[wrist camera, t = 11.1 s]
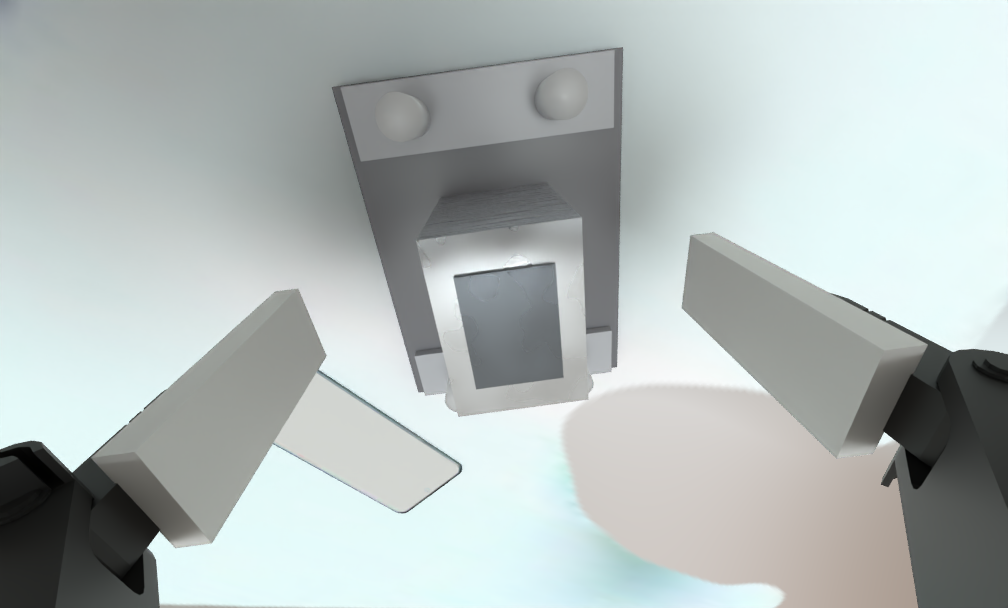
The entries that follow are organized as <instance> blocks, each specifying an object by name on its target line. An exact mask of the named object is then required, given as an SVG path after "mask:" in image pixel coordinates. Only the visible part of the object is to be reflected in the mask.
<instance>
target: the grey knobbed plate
mask: <svg viewBox="0 0 1008 608" xmlns="http://www.w3.org/2000/svg"><path fill="white" fill-rule="evenodd" d="M622 71H623V47H622V48H615V49H608V50H600V51H593V52H586V53H578V54H571V55H564V56H557V57H549V58H542V59H535V60H527V61H520V62H513V63H505V64H498V65H491V66H483V67H476V68H469V69H462V70H454V71H447V72H440V73H432V74H425V75H418V76H410V77H403V78H396V79H388V80H381V81H374V82H366V83H359V84H352V85H345V86H337V87H332V90H333V93H334V97H335V100H336V104H337V107H338V111H339V114H340V118H341V121H342V125H343V128H344V132H345V135H346V139H347V142H348V146H349V149H350V153H351V156H352V160H353V163H354V167H355V170H356V174H357V178H358V181H359V185H360V188H361V192H362V195H363V199H364V202H365V206H366V209H367V213H368V216H369V220H370V223H371V227H372V230H373V234H374V237H375V241H376V244H377V248H378V251H379V255H380V258H381V262H382V266H383V269H384V273H385V276H386V280H387V283H388V287H389V290H390V294H391V297H392V301H393V304H394V308H395V311H396V315H397V318H398V322H399V325H400V329H401V332H402V336H403V339H404V343H405V346H406V350H407V354H408V357H409V361H410V364H411V368H412V371H413V375H414V378H415V382H416V385H417V389H418V392H424V393H425V396H426V395H434V394H441V393H446V396H445V403H446V405H447V407H448V408H449V409H451V410H452V411H455V412H457V409H456V404H455V400H454V396H453V392H452V388H451V384H450V380H449V376H448V371H447V367H446V363H445V359H444V355H443V351H442V347H441V343H440V338H439V334H438V330H437V326H436V322H435V318H434V314H433V310H432V305H431V301H430V297H429V293H428V289H427V285H426V281H425V277H424V272H423V268H422V264H421V260H420V256H419V252H418V248H417V244H416V239H417V238H418V236H419V234H420V232H421V231H422V229H423V227H424V225H425V224H426V222H427V220H428V218H429V217H430V215H431V213H432V211H433V210H434V208H435V206H436V204H437V203H438V201H439V199H440V197H447V196H454V195H461V194H468V193H475V192H482V191H489V190H496V189H503V188H511V187H518V186H525V185H532V184H539V183H546V182H547V183H548V184H549V185H550V186H551V187H552V188H553V189H554V190H555V191H556V192H557V193H558V194H559V195H560V196H561V197H562V198H563V199H564V200H565V201H566V202H567V203H568V204H569V205H570V206H571V207H572V208H573V209H574V210H575V211H576V212H577V213H578V214H579V215H580V216H581V217H582V234H583V263H584V291H585V320H586V348H587V376H588V393H589V392H590V391H591V390H592V388H593V380H592V377H591V375H590V374H598V373H606V372H611V368H613V367H617V342H618V288H619V234H620V179H621V125H622Z"/></svg>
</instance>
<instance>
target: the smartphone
mask: <svg viewBox="0 0 1008 608" xmlns="http://www.w3.org/2000/svg"><path fill="white" fill-rule="evenodd" d="M273 444H274V445H276V446H278V447H280V448H281V449H283V450H285V451H287V452H289V453H290V454H292V455H294V456H296V457H298V458H299V459H301V460H303V461H305V462H307V463H308V464H310V465H312V466H314V467H316V468H317V469H319V470H321V471H323V472H325V473H326V474H328V475H330V476H332V477H334V478H335V479H337V480H339V481H341V482H343V483H344V484H346V485H348V486H350V487H352V488H353V489H355V490H357V491H359V492H361V493H362V494H364V495H366V496H368V497H370V498H371V499H373V500H375V501H377V502H379V503H380V504H382V505H384V506H386V507H388V508H389V509H391V510H393V511H395V512H397V513H407V512H408V511H410V510H411V509H413V508H414V507H415V506H417V505H418V504H419V503H421V502H422V501H423V500H425V499H426V498H427V497H429V496H430V495H432V494H433V493H434V492H436V491H437V490H438V489H440V488H441V487H442V486H444V485H445V484H446V483H448V482H449V481H450V480H452V479H453V478H455V477H456V476H457V475H459V474H460V473H461V471H462V466H461V464H460V463H459V462H457V461H456V460H454V459H453V458H451V457H449V456H448V455H446V454H445V453H443V452H442V451H440V450H439V449H437V448H436V447H434V446H433V445H431V444H430V443H428V442H427V441H425V440H424V439H422V438H421V437H419V436H418V435H416V434H415V433H413V432H412V431H410V430H409V429H407V428H406V427H404V426H403V425H401V424H400V423H398V422H397V421H395V420H393V419H392V418H390V417H389V416H387V415H386V414H384V413H383V412H381V411H380V410H378V409H377V408H375V407H374V406H372V405H371V404H369V403H368V402H366V401H365V400H363V399H362V398H360V397H359V396H357V395H356V394H354V393H353V392H351V391H350V390H348V389H347V388H345V387H344V386H342V385H341V384H339V383H337V382H336V381H334V380H333V379H331V378H330V377H328V376H327V375H325V374H324V373H322V372H321V371H319V370H318V371H317V372H316V374H315V376H314V377H313V379H312V381H311V382H310V384H309V385H308V387H307V389H306V390H305V392H304V394H303V395H302V397H301V398H300V400H299V402H298V403H297V405H296V407H295V408H294V410H293V412H292V413H291V415H290V416H289V418H288V420H287V421H286V423H285V425H284V426H283V428H282V430H281V431H280V433H279V434H278V436H277V438H276V439H275V441H274V443H273Z"/></svg>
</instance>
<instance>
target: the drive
mask: <svg viewBox="0 0 1008 608" xmlns="http://www.w3.org/2000/svg"><path fill="white" fill-rule="evenodd" d="M416 244H417V248H418V252H419V256H420V260H421V264H422V268H423V272H424V277H425V281H426V285H427V289H428V293H429V297H430V301H431V305H432V310H433V314H434V318H435V322H436V326H437V330H438V334H439V338H440V343H441V347H442V351H443V355H444V359H445V363H446V367H447V371H448V376H449V380H450V384H451V388H452V392H453V396H454V400H455V404H456V409H457V413H458V417H460V416H467V415H475V414H482V413H490V412H498V411H505V410H513V409H520V408H528V407H535V406H543V405H550V404H558V403H565V402H573V401H580V400H588V376H587V348H586V320H585V291H584V263H583V234H582V217H581V216H580V215H579V214H578V213H577V212H576V211H575V210H574V209H573V208H572V207H571V206H570V205H569V204H568V203H567V202H566V201H565V200H564V199H563V198H562V197H561V196H560V195H559V194H558V193H557V192H556V191H555V190H554V189H553V188H552V187H551V186H550V185H549V184H548V183H547V182H546V183H539V184H532V185H525V186H518V187H511V188H503V189H496V190H489V191H482V192H475V193H468V194H461V195H454V196H447V197H440V199H439V201H438V203H437V204H436V206H435V208H434V210H433V211H432V213H431V215H430V217H429V218H428V220H427V222H426V224H425V225H424V227H423V229H422V231H421V232H420V234H419V236H418V238H417V239H416Z"/></svg>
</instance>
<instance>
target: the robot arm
mask: <svg viewBox="0 0 1008 608" xmlns="http://www.w3.org/2000/svg"><path fill="white" fill-rule="evenodd" d="M682 309H683V310H684V311H685V312H686V313H687V314H689V315H690V316H691V317H692V318H693V319H694V320H695V321H696V322H697V323H698V324H699V325H700V326H701V327H702V328H703V329H704V330H705V331H706V332H707V333H708V334H709V335H710V336H711V337H712V338H713V339H714V340H715V341H716V342H717V343H718V344H719V345H720V346H721V347H722V348H723V349H724V350H725V351H727V352H728V353H729V354H730V355H731V356H732V357H733V358H734V359H735V360H736V361H737V362H738V363H739V364H740V365H741V366H742V367H743V368H744V369H745V370H746V371H747V372H748V373H749V374H750V375H751V376H752V377H753V378H754V379H755V380H756V381H757V382H758V383H759V384H760V385H761V386H762V387H763V388H765V389H766V390H767V391H768V392H769V393H770V394H771V395H772V396H773V397H774V398H775V399H776V400H777V401H778V402H779V403H780V404H781V405H782V406H783V407H784V408H785V409H786V410H787V411H788V412H789V413H790V414H791V415H792V416H793V417H794V418H795V419H796V420H797V421H798V422H799V423H801V425H803V426H804V427H805V428H806V429H807V430H808V431H809V432H810V433H811V434H812V435H813V436H814V437H815V438H816V439H817V440H818V441H819V442H820V443H821V444H822V445H823V446H824V447H825V448H826V449H827V450H828V451H829V452H830V453H831V454H832V455H833V456H834V457H835V458H837V459H838V458H845V457H853V456H860V455H867V454H873V453H874V451H875V449H876V447H877V445H878V443H879V441H880V439H881V437H882V435H883V433H884V432H885V433H887V434H888V435H889V436H890V437H892V438H893V439H894V440H895V441H897V442H898V443H899V444H900V447H899V449H898V451H897V452H896V454H895V456H894V458H893V460H892V461H891V463H890V465H889V467H888V469H887V471H886V472H885V474H884V476H883V479H882V482H881V485H884V486H887V487H889V485H890V483H891V482H892V480H893V479H895V478H898V484H899V491H900V496H901V503H902V509H903V515H904V521H905V527H906V533H907V540H908V546H909V552H910V558H911V565H912V571H913V577H914V583H915V589H916V596H917V602H918V608H1008V354H1004V353H999V352H995V351H986V350H978V349H968V350H958V351H956V352H951V351H949V350H947V349H946V348H944V347H942V346H940V345H938V344H936V343H934V342H932V341H930V340H928V339H926V338H924V337H922V336H920V335H918V334H916V333H914V332H912V331H910V330H908V329H906V328H904V327H903V326H901V325H899V324H897V323H895V322H893V321H891V320H888V321H886V318H885V317H883V316H881V315H879V314H877V313H875V312H873V311H870V312H869V311H868V309H867V308H865V307H863V306H861V305H860V304H858V303H856V302H854V301H852V300H850V299H848V298H845V297H841V296H838V295H835V294H832V293H829V292H827V291H825V290H823V289H821V288H819V287H817V286H815V285H813V284H811V283H809V282H807V281H806V280H804V279H802V278H800V277H798V276H796V275H794V274H792V273H790V272H788V271H786V270H785V269H783V268H781V267H779V266H777V265H775V264H773V263H771V262H769V261H767V260H765V259H763V258H762V257H760V256H758V255H756V254H754V253H752V252H750V251H748V250H746V249H744V248H742V247H740V246H739V245H737V244H735V243H733V242H731V241H729V240H727V239H725V238H723V237H721V236H719V235H718V234H716V233H714V232H712V233H705V234H697V235H690V244H689V252H688V260H687V269H686V277H685V285H684V293H683V302H682ZM325 358H326V354H325V351H324V349H323V347H322V344H321V342H320V339H319V337H318V335H317V332H316V330H315V328H314V325H313V323H312V320H311V318H310V316H309V313H308V311H307V309H306V306H305V304H304V302H303V299H302V297H301V294H300V292H299V290H298V289H291V290H284V291H276V292H274V293H273V294H272V295H271V296H270V297H269V298H268V299H266V300H265V301H264V302H263V303H262V304H261V305H260V306H259V307H258V308H256V309H255V310H254V311H253V312H252V313H251V314H250V315H249V316H248V317H246V318H245V319H244V320H243V321H242V322H241V323H240V324H239V325H238V326H237V327H235V328H234V329H233V330H232V331H231V332H230V333H229V334H228V335H227V336H225V337H224V338H223V339H222V340H221V341H220V342H219V343H218V344H217V345H215V346H214V347H213V348H212V349H211V350H210V351H209V352H208V353H207V354H205V355H204V356H203V357H202V358H201V359H200V360H199V361H198V362H197V363H195V364H194V365H193V366H192V367H191V368H190V369H189V370H188V371H187V372H185V373H184V374H183V375H182V376H181V377H180V378H179V379H178V380H177V381H176V382H174V383H173V384H172V385H171V386H170V387H169V388H168V389H167V390H165V391H163V392H162V393H161V394H159V395H158V396H157V397H156V398H155V399H154V400H153V401H152V402H151V403H149V404H148V405H147V406H146V407H145V408H144V410H143V411H142V412H139V413H138V414H137V415H136V416H135V417H134V418H133V419H132V420H130V421H129V424H128V425H125V426H124V427H123V428H122V429H120V430H119V431H118V432H117V433H116V434H115V435H114V436H113V437H112V438H110V439H109V440H108V441H107V442H106V443H105V444H104V445H103V446H101V447H100V448H99V449H98V450H97V451H96V452H95V453H94V454H93V455H91V456H90V457H89V458H88V459H87V460H86V461H85V462H84V463H83V464H81V465H80V466H79V467H78V468H77V469H76V470H75V471H74V472H71V471H70V470H69V469H68V468H67V467H66V466H65V465H64V464H63V463H62V462H61V461H60V460H59V459H58V458H57V457H56V456H55V455H54V454H53V453H52V452H51V451H50V450H49V449H48V448H47V447H46V446H45V445H44V444H43V443H42V442H37V441H28V442H23V443H18V444H14V445H11V446H8V447H6V448H3V449H0V608H160V606H159V593H158V580H157V567H156V559H155V557H154V555H153V554H152V552H151V551H150V550H149V549H148V548H147V547H148V546H149V544H150V543H151V542H152V540H153V539H154V538H155V536H156V535H157V534H158V532H159V531H160V532H161V533H162V534H163V535H164V536H165V538H166V539H167V540H168V541H169V542H170V543H171V544H172V545H173V546H174V547H175V548H180V547H188V546H195V545H203V544H210V543H212V542H213V541H214V539H215V537H216V536H217V534H218V532H219V531H220V529H221V528H222V526H223V524H224V523H225V521H226V519H227V518H228V516H229V514H230V513H231V511H232V510H233V508H234V506H235V505H236V503H237V501H238V500H239V498H240V497H241V495H242V493H243V492H244V490H245V488H246V487H247V485H248V483H249V482H250V480H251V479H252V477H253V475H254V474H255V472H256V470H257V469H258V467H259V465H260V464H261V462H262V461H263V459H264V457H265V456H266V454H267V452H268V451H269V449H270V447H271V446H272V444H273V443H274V441H275V439H276V438H277V436H278V434H279V433H280V431H281V430H282V428H283V426H284V425H285V423H286V421H287V420H288V418H289V416H290V415H291V413H292V412H293V410H294V408H295V407H296V405H297V403H298V402H299V400H300V398H301V397H302V395H303V394H304V392H305V390H306V389H307V387H308V385H309V384H310V382H311V381H312V379H313V377H314V376H315V374H316V372H317V371H318V369H319V367H320V366H321V364H322V363H323V361H324V359H325Z"/></svg>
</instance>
